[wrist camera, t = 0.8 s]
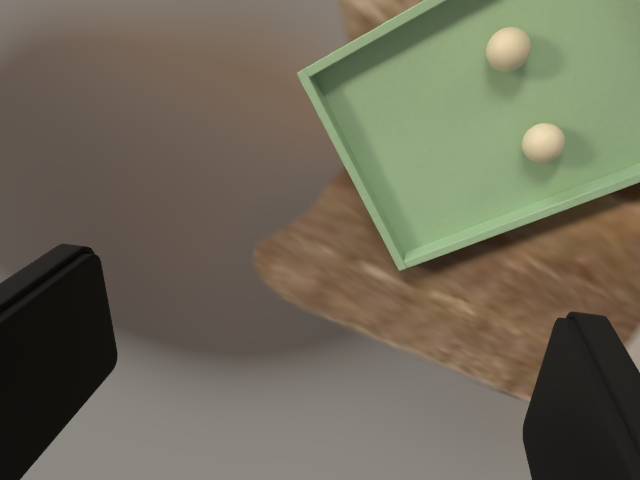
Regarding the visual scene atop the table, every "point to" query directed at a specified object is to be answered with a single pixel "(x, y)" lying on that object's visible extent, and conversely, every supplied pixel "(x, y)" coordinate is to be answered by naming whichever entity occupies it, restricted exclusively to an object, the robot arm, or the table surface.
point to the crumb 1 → (508, 49)
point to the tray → (481, 117)
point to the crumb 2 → (543, 143)
